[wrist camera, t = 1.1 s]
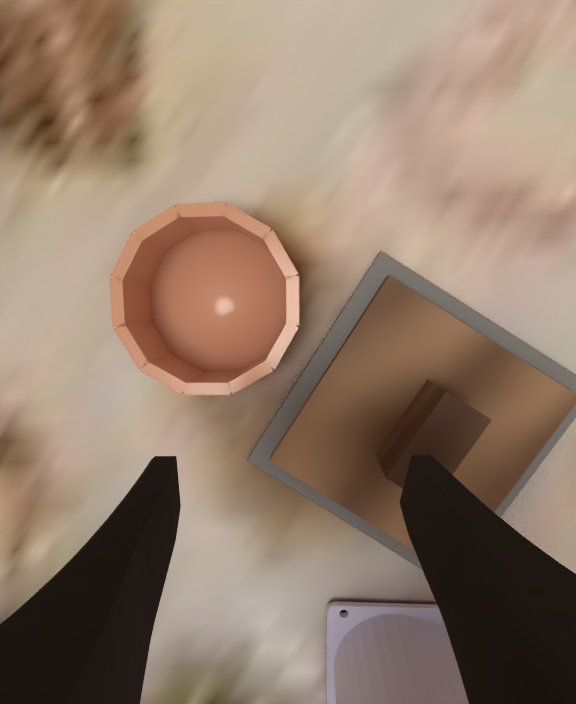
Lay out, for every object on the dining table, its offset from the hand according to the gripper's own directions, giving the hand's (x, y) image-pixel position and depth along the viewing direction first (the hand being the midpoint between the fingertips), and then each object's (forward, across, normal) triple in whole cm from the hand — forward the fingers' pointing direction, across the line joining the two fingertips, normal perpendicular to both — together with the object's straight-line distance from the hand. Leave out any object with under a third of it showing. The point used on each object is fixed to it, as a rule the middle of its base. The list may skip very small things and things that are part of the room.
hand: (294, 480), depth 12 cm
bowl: (+13, +3, -1) cm, 13 cm away
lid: (+8, -8, +4) cm, 12 cm away
